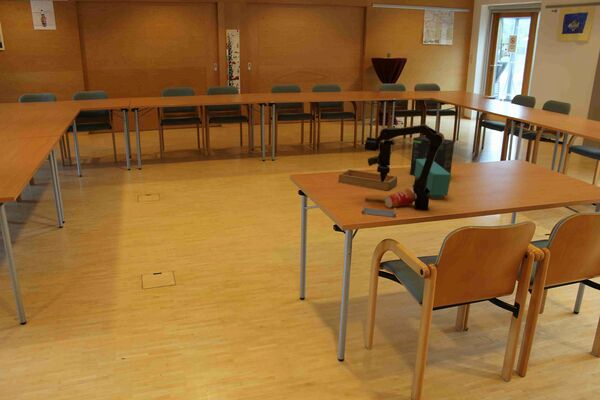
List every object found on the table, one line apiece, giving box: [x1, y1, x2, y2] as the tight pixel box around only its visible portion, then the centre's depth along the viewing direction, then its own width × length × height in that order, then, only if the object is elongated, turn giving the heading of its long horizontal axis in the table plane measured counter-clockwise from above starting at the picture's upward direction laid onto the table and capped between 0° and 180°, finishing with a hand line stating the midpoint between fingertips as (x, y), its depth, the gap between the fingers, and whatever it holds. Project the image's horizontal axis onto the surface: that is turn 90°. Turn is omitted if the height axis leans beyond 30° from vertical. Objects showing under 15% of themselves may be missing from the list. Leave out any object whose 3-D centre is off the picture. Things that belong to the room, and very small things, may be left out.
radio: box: [414, 159, 452, 200], centre depth 292 cm, size 34×10×15 cm, turn 4°
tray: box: [338, 168, 398, 191], centre depth 304 cm, size 31×15×6 cm, turn 62°
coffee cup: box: [384, 188, 416, 209], centre depth 266 cm, size 8×8×15 cm
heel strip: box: [364, 197, 385, 204], centre depth 271 cm, size 16×2×2 cm, turn 79°
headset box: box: [409, 135, 455, 177], centre depth 321 cm, size 22×12×26 cm, turn 49°
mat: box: [361, 204, 397, 218], centre depth 255 cm, size 16×9×2 cm, turn 79°
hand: (382, 181), depth 269 cm, fingers closed
